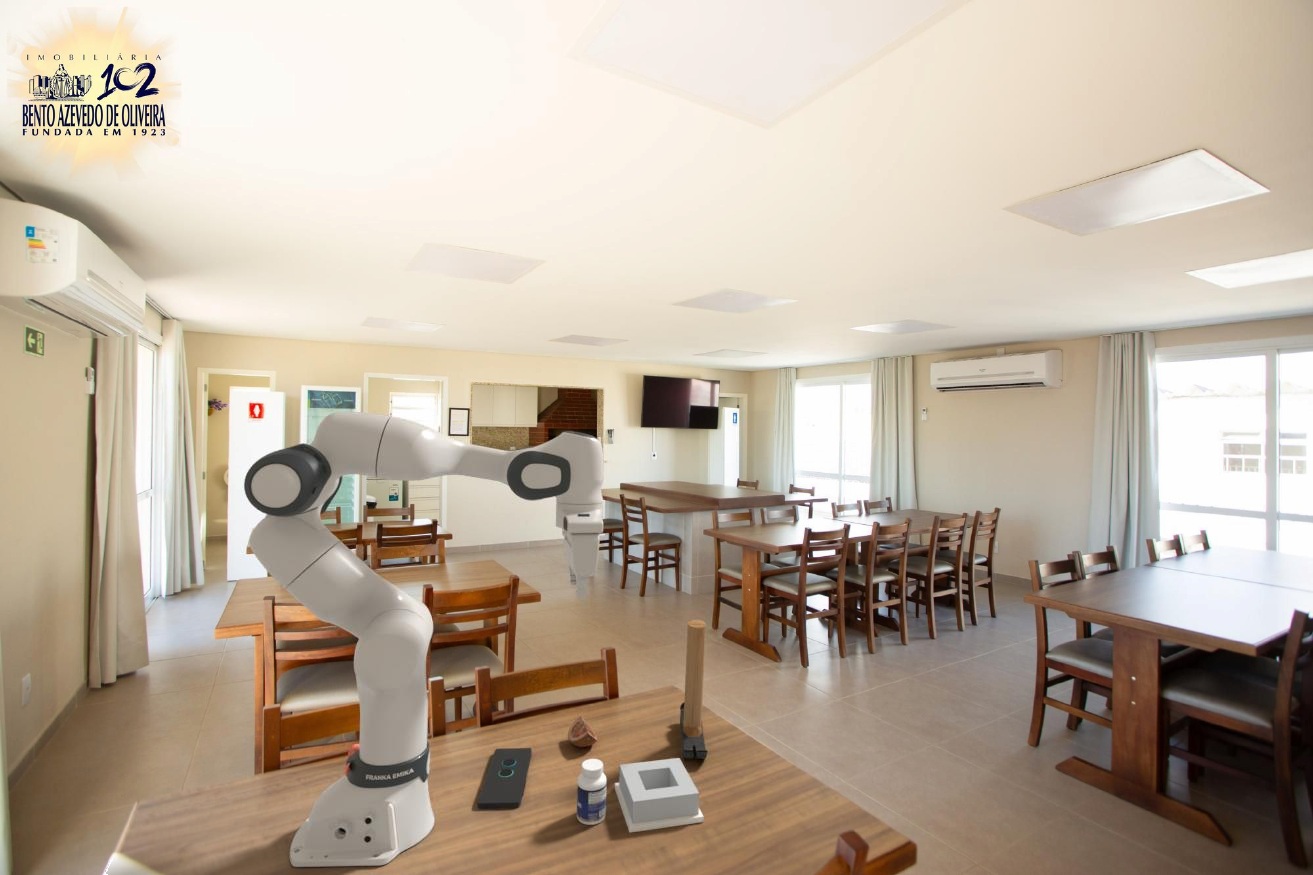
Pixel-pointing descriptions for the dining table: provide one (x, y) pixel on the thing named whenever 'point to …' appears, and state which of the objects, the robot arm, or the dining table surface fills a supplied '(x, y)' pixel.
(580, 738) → the fruit slice
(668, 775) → the socket block
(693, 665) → the hammer
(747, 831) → the dining table surface
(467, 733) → the dining table surface
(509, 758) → the smart home device
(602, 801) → the pill bottle
